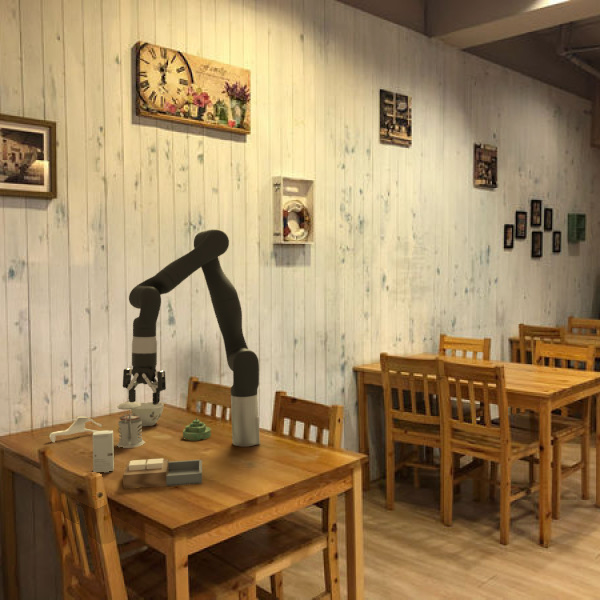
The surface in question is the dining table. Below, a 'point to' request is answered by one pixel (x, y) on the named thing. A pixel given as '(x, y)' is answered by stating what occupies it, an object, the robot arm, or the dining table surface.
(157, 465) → the tile
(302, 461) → the dining table surface
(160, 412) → the teacup
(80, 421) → the white clothes hanger
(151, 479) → the board
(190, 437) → the decorative artifact
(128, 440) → the french press
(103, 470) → the skincare box
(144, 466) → the tile
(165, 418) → the dining table surface
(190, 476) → the tray
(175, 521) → the dining table surface
